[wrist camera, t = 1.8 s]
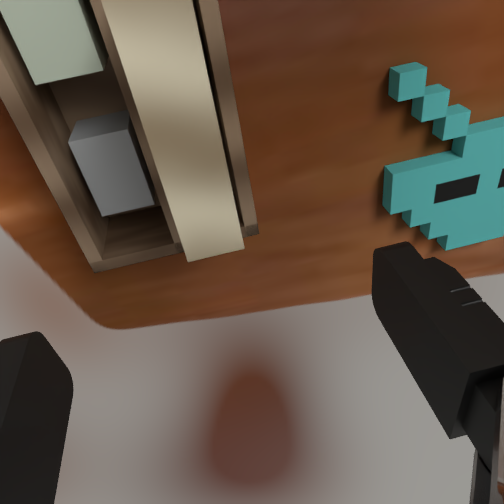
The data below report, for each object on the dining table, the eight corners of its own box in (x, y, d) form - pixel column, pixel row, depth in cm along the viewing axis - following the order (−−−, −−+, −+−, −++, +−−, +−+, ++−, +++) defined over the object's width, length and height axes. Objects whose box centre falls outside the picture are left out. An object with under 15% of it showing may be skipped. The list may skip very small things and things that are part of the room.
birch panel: (123, -36, 25) (98, -8, 14) (171, -45, 26) (186, -27, 14) (175, 145, 33) (187, 262, 21) (212, 137, 33) (244, 248, 21)
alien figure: (387, 66, 34) (378, 252, 46) (400, 73, 32) (386, 265, 45) (614, 15, 35) (544, 211, 47) (638, 19, 33) (559, 222, 46)
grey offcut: (76, 120, 30) (67, 142, 27) (130, 109, 31) (127, 129, 27) (106, 190, 34) (102, 216, 31) (154, 179, 34) (154, 204, 31)
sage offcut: (-4, -66, 23) (-36, -65, 20) (65, -79, 24) (48, -82, 20) (51, 63, 28) (35, 84, 24) (110, 51, 28) (103, 70, 24)
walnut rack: (-67, -141, 22) (-140, -166, 17) (172, -185, 23) (178, -223, 17) (103, 223, 37) (94, 273, 32) (244, 190, 38) (259, 233, 32)
